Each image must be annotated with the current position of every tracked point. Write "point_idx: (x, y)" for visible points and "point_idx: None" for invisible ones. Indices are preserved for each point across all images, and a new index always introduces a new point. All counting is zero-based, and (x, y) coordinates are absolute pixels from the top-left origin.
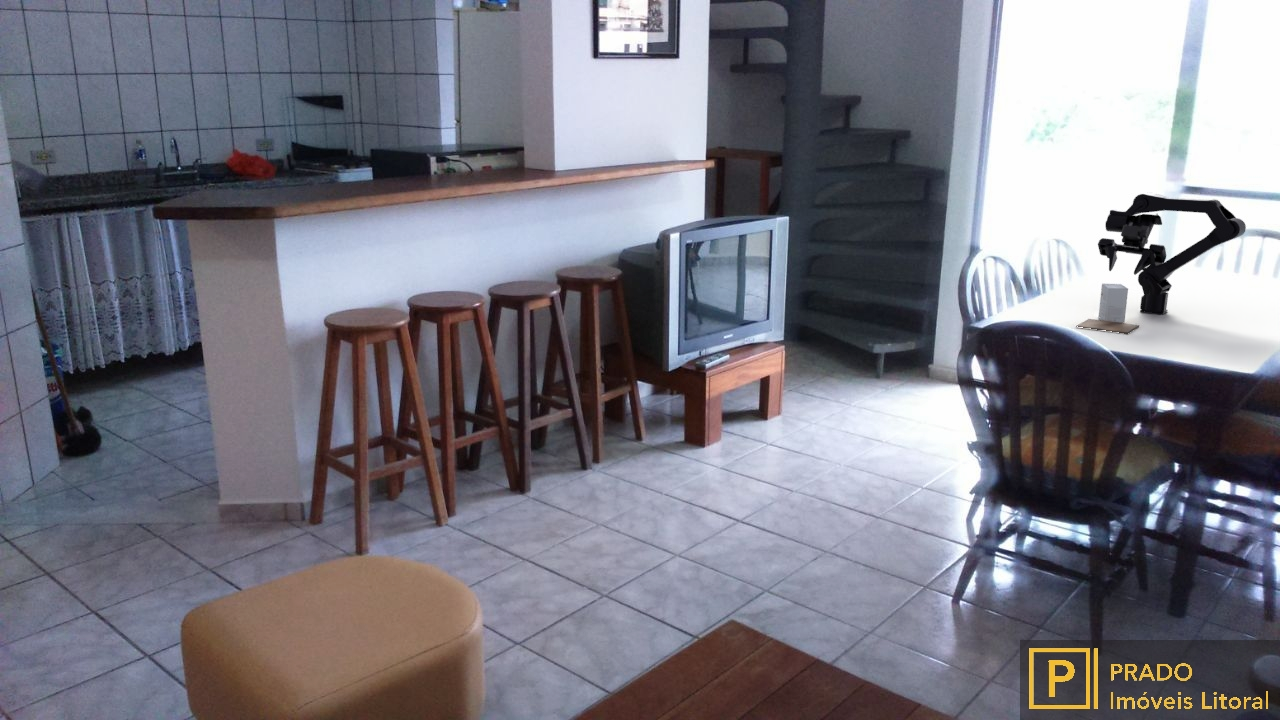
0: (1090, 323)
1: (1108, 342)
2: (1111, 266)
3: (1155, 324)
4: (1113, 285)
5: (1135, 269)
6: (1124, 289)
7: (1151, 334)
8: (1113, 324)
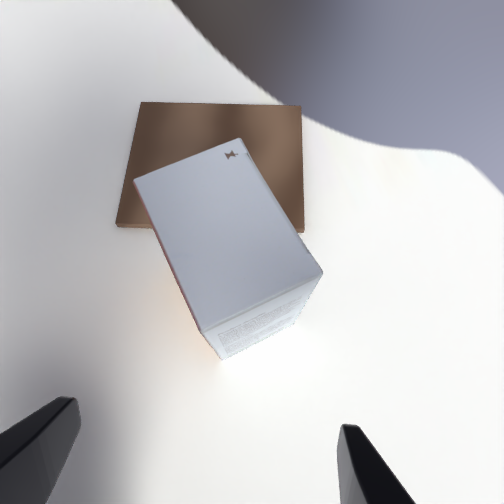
0: (273, 155)
1: (176, 13)
2: (348, 460)
3: (59, 313)
4: (233, 228)
5: (42, 420)
6: (153, 173)
7: (74, 144)
8: None
